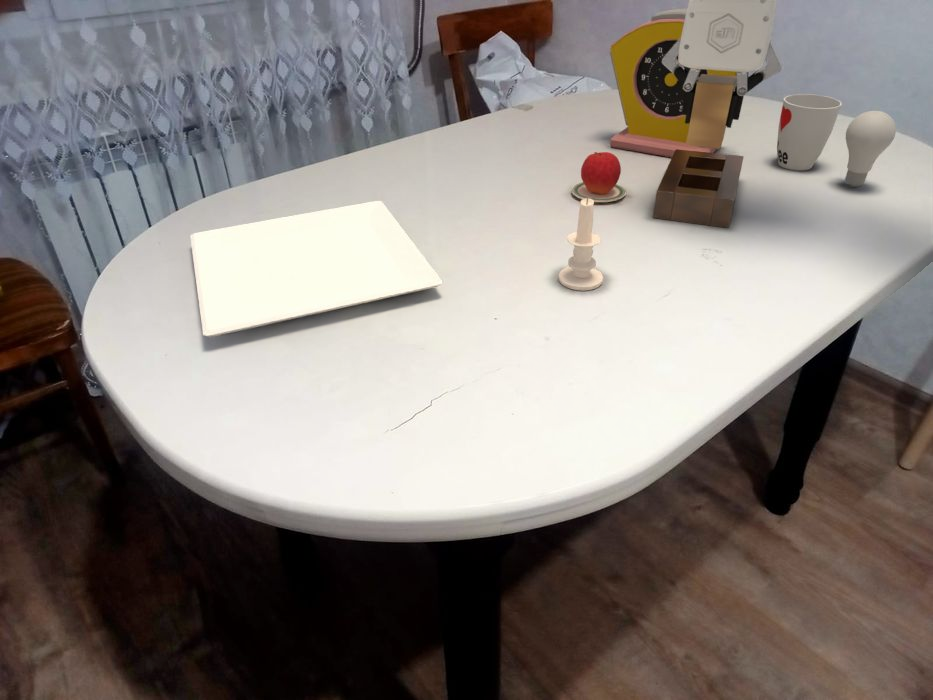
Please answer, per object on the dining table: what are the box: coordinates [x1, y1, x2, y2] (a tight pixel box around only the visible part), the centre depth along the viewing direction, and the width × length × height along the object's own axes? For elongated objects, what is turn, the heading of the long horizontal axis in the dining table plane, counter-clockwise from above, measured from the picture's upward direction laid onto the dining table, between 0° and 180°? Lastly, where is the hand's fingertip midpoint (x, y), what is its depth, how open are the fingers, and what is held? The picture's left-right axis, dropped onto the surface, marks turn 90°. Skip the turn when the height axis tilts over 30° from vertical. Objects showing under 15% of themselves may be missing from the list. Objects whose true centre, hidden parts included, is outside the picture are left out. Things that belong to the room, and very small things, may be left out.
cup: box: [776, 93, 843, 171], centre depth 103 cm, size 8×8×10 cm
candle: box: [558, 197, 604, 292], centre depth 75 cm, size 5×5×10 cm
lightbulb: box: [844, 110, 897, 188], centre depth 95 cm, size 6×6×11 cm
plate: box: [189, 200, 444, 338], centre depth 81 cm, size 26×26×2 cm
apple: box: [571, 151, 627, 203], centre depth 97 cm, size 8×8×6 cm
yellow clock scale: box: [609, 7, 737, 159], centre depth 108 cm, size 22×9×22 cm, turn 56°
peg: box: [686, 74, 737, 150], centre depth 86 cm, size 4×4×8 cm
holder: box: [652, 149, 745, 229], centre depth 95 cm, size 10×18×4 cm, turn 157°
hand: (708, 121), depth 86 cm, fingers closed on peg, 4 cm apart
